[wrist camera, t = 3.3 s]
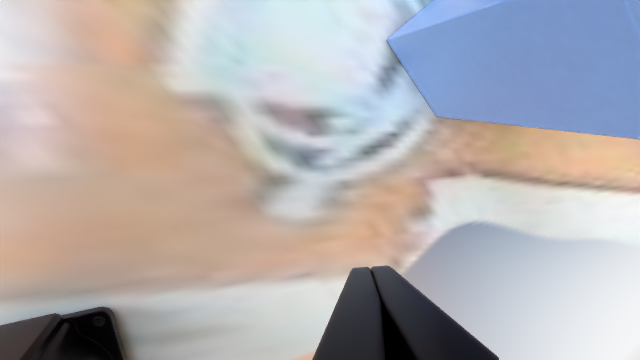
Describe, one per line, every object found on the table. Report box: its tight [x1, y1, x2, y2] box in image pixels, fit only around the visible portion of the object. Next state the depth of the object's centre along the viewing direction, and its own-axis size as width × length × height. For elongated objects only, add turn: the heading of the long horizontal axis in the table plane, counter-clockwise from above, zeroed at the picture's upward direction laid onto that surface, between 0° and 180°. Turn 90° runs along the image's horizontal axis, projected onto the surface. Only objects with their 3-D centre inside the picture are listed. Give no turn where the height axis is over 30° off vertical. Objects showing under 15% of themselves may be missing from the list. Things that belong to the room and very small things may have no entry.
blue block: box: [387, 0, 640, 139], centre depth 15 cm, size 4×5×12 cm
